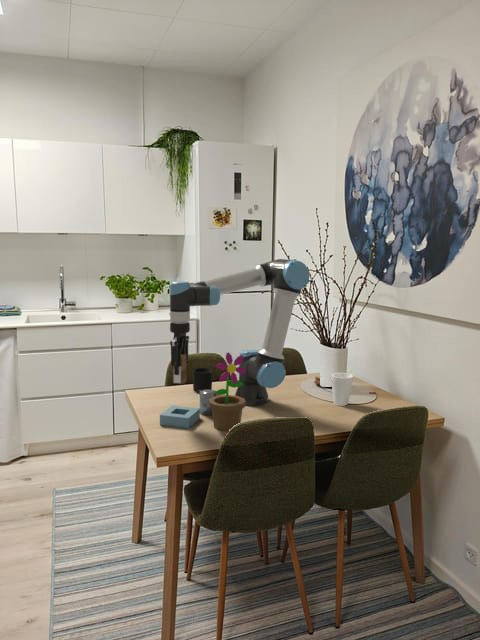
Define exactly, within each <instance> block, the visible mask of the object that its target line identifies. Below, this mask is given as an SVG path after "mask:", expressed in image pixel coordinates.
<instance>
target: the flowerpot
mask: <svg viewBox="0 0 480 640" xmlns="http://www.w3.org/2000/svg"><path fill="white" fill-rule="evenodd" d="M225 360H226V363H227V364H228V365H227V364H226V363H222V362H220V363H217V364H216V366H215V367H216V368H217V369H218V370H221V371H224V372H223V373H221V375H220V377H219V381H220V383H222V382H224V381H226V382H225V383H226V384H225V388H221V389H217V390H215V391H216V396H215V397H212V398H210V399H209V408H211V409H212V415H211V416H212V422H213V428H214V429H216V430H218V431H219V430H220V431H225V432H228V430H229V429H231V428H232V427H233V426H234V425H236V424H238V423H240V424H241V423H242V414H243V409H245V407H246V406H247V405H246V401H245V399H244V398H242V397H239V396H235V395H232V394H229V387H231V388H238V387H239V386H242V385H243V383H242V382H240V381H239V379H238V377H237V374H236V373H235V372H237V373H238V374H239V373H242V374H243V373H246V371H247V370H246V369H245V368H243V367H239V364H240V363H241V362H242V360H243V356H242V355H241V356H239V355H238V356H237V357H236V358H235V359H234V360H233V356H232V354H231V353H230V352H229V351H228V352H226V354H225ZM233 361H234V362H233ZM225 370H226V371H225Z"/></svg>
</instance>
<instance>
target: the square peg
mask: <svg viewBox="0 0 480 640" xmlns="http://www.w3.org/2000/svg"><path fill="white" fill-rule="evenodd" d="M186 361H187V360H186V354H181V360H180V366H181V383H174V366H172V384H173V385H174V384H176V385H184V384H186V383H187V363H186Z"/></svg>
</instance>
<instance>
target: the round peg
mask: <svg viewBox="0 0 480 640" xmlns="http://www.w3.org/2000/svg"><path fill="white" fill-rule="evenodd" d="M216 391H217V390H215V389H212V390H201V391H200V393H199V408H200V415H202V416H205V417H206V416H207V417H208V416H213V415H212V409H211V408H209V399H210V398H212V397H215V396H217V394H216Z"/></svg>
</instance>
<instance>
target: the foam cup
mask: <svg viewBox="0 0 480 640" xmlns="http://www.w3.org/2000/svg"><path fill="white" fill-rule="evenodd" d="M330 375H331V378H330V379H331V381H332V388H331V390H332V399H333V401H332V402H333V405H335V404H336V405H335V406H337V405H340V406H339V407H346V406H345V405H347V404H348V405H349V403H350V402H349V401H350V397H351V391H352V385H353V382H354V375H353V374H351V373H345V372H334V373H331V374H330ZM348 405H347V406H348Z"/></svg>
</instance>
